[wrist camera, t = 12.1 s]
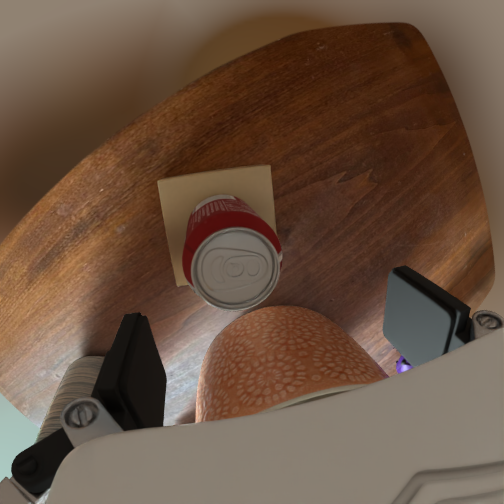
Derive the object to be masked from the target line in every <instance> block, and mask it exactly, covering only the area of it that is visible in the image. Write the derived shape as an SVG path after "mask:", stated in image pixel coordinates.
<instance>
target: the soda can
mask: <svg viewBox="0 0 504 504" xmlns="http://www.w3.org/2000/svg"><path fill="white" fill-rule="evenodd" d="M182 267H183V272H184V275H185V278H186V280H187V282H188V284H189V286H190V287H191V288H192V290H193V291H194V292H195V293H196V294H197V295H198V296H199V297H201V298H202V299H203V300H204V301H205V302H207V303H208V304H210V305H211V306H213V307H215V308H218V309H221V310H225V311H243V310H247V309H250V308H252V307H255V306H257V305H258V304H260V303H261V302H263V301H264V300H265V299H266V298H267V297H268V296H269V295H270V294H271V293H272V291H273V290H274V288H275V286H276V284H277V282H278V279H279V274H280V271H281V267H282V249H281V245H280V242H279V239H278V237H277V235H276V234H275V232H274V231H273V229H272V228H271V227H270V226H269V225H268V224H267V223H266V222H265V221H264V220H263V219H262V218H261V217H260V216H259V215H258V214H257V213H256V212H255V211H254V210H253V209H252V208H251V207H250V206H249V205H248V204H247V203H245V202H244V201H243V200H241V199H240V198H238V197H235V196H232V195H226V194H220V195H214V196H211V197H208V198H206V199H204V200H203V201H201V202H200V203H199V204H198V205H197V206H196V207H195V208H194V210H193V211H192V213H191V215H190V217H189V220H188V225H187V231H186V236H185V242H184V248H183V254H182Z"/></svg>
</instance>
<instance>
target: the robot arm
mask: <svg viewBox="0 0 504 504" xmlns="http://www.w3.org/2000/svg"><path fill="white" fill-rule="evenodd" d="M470 309H471V308H470V307H469V306H467V305H466V304H464V303H463V302H461V301H460V300H458V299H457V298H456V297H454V296H453V295H451V294H450V293H448V292H447V291H445V290H444V289H442V288H441V287H439V286H438V285H436V284H434V283H433V282H431V281H430V280H428V279H427V278H425V277H424V276H422V275H421V274H419V273H417V272H416V271H414V270H413V269H411V268H409V267H408V266H406V265H405V266H400V267H396V268H393V269H392V271H391V272H390V273H389V275H388V285H387V296H386V306H385V314H384V322H383V334H384V336H385V337H386V338H387V339H388V341H389V342H390V343H391V344H392V345H393V346H394V347H395V348H396V349H397V350H398V351H399V352H400V354H401V355H402V356H403V357H404V358H405V359H406V360H407V361H408V362H409V363H410V365H411V366H412V367H413V368H411V369H409V370H407V371H404V372H401V373H399V374H396V375H394V376H391V377H388V378H385V379H383V380H380V381H377V382H374V383H371V384H368V385H365V386H362V387H359V388H356V389H353V390H350V391H347V392H343V393H340V394H337V395H333V396H330V397H326V398H323V399H319V400H315V401H311V402H307V403H303V404H299V405H295V406H291V407H287V408H282V409H277V410H273V411H268V412H263V413H258V414H253V415H247V416H241V417H235V418H229V419H222V420H215V421H208V422H200V423H190V424H182V425H174V426H164V427H163V420H164V406H165V394H166V383H167V378H166V373H165V370H164V367H163V364H162V361H161V359H160V356H159V353H158V350H157V347H156V344H155V341H154V338H153V334H152V331H151V328H150V325H149V322H148V319H147V316H146V315H145V316H142V315H141V313H140V312H138V313H130V314H125V315H124V317H123V319H122V322H121V324H120V327H119V329H118V332H117V334H116V337H115V339H114V342H113V344H112V347H111V350H110V351H108V352H107V353H106V356H105V358H104V361H103V364H102V366H101V369H100V372H99V374H98V377H97V380H96V383H95V386H94V388H93V391H92V394H91V397H80V398H77V399H74V400H72V401H71V402H69V403H68V404H67V405H66V406H65V407H64V408H63V410H62V412H61V414H60V422H61V425H62V428H60V429H58V430H57V431H55V432H54V433H52V434H50V435H49V436H47V437H45V438H44V439H42V440H41V441H39V442H37V443H36V444H34V445H32V446H31V447H29V448H27V449H26V450H24V451H22V452H21V453H19V454H18V455H17V456H16V458H15V459H14V461H13V463H12V468H11V472H12V477H11V478H10V479H8V478H7V477H5V478H4V479H3V480H2V481H1V482H0V504H504V319H503V318H502V317H501V316H500V315H499V314H497V313H495V312H492V311H487V310H482V311H477V312H475V313H474V314H473V316H472V319H471V318H470V317H469V313H470Z"/></svg>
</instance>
